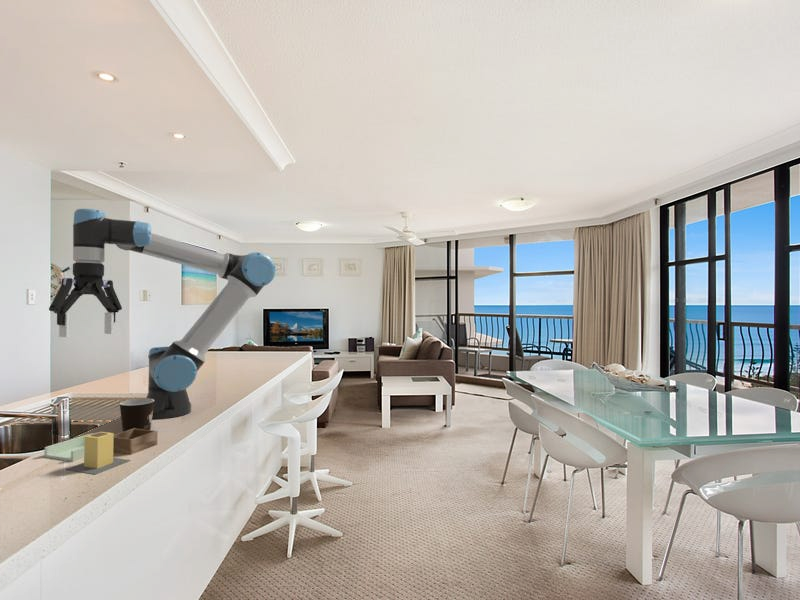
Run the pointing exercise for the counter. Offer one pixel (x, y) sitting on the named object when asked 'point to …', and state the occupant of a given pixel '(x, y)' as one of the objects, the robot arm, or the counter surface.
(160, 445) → the counter surface
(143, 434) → the walnut box
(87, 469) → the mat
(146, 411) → the coffee mug
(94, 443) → the yellow block
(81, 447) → the sage tray
